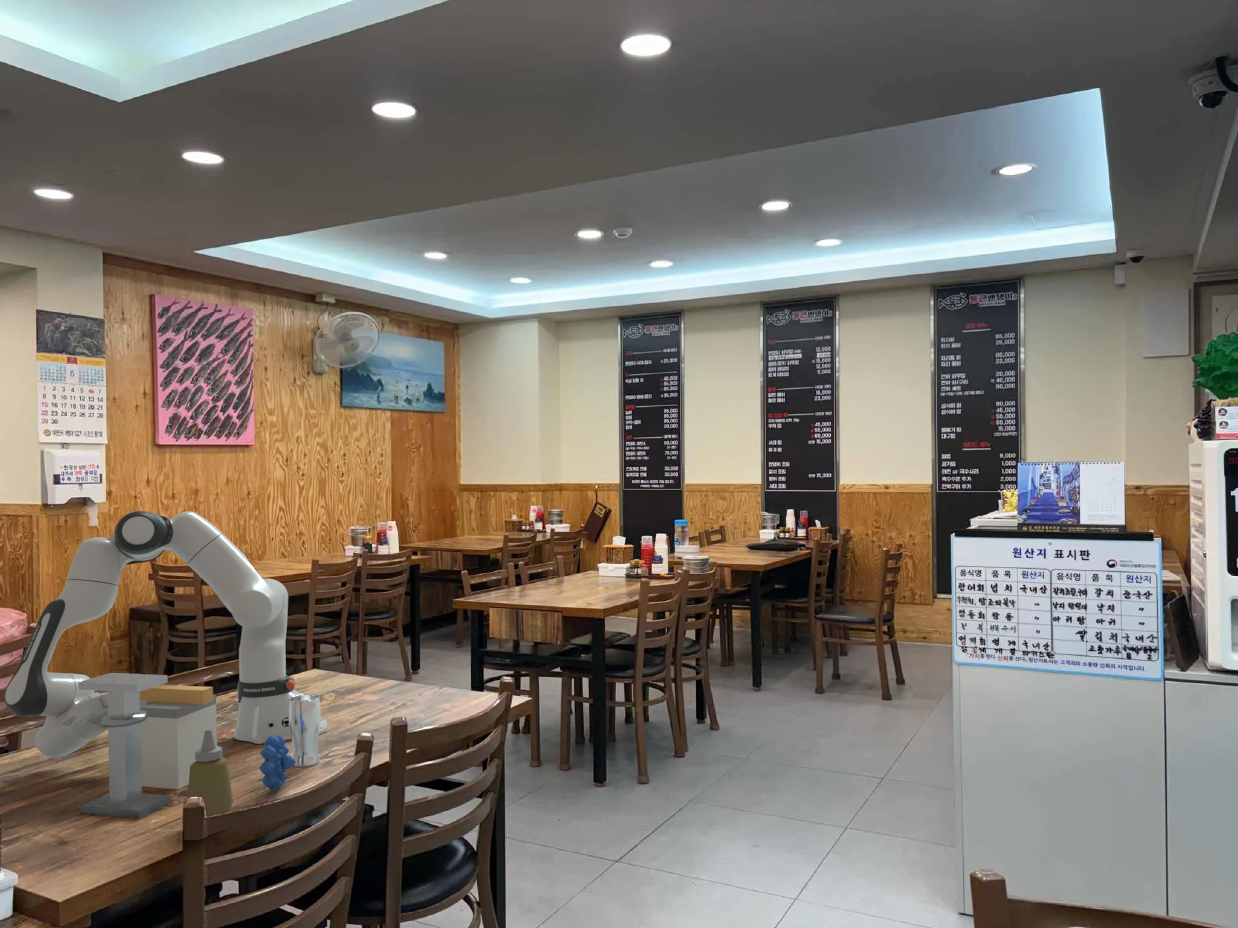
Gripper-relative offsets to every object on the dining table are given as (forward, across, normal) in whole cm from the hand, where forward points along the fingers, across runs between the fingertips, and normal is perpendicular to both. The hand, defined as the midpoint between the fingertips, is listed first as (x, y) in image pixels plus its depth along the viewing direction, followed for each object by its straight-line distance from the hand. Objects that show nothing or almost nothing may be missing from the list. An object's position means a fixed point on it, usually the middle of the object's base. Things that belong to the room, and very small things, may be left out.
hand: (140, 685), depth 197 cm
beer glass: (+18, +14, +33) cm, 40 cm away
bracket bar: (+5, 0, +6) cm, 8 cm away
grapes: (+22, -2, +36) cm, 42 cm away
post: (0, -17, +23) cm, 29 cm away
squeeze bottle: (+20, -21, +35) cm, 45 cm away
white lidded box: (-2, 0, +22) cm, 22 cm away
